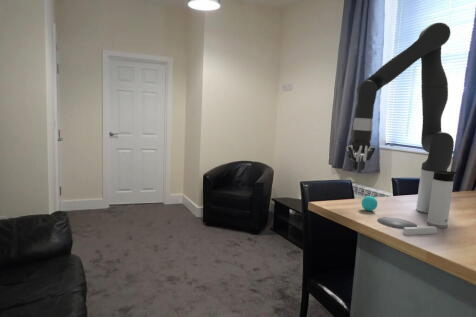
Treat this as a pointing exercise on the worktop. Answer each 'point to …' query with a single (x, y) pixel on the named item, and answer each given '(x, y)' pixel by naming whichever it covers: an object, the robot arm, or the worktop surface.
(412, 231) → the wall
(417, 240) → the worktop surface
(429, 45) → the robot arm
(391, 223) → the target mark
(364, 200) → the ball
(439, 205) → the travel mug
